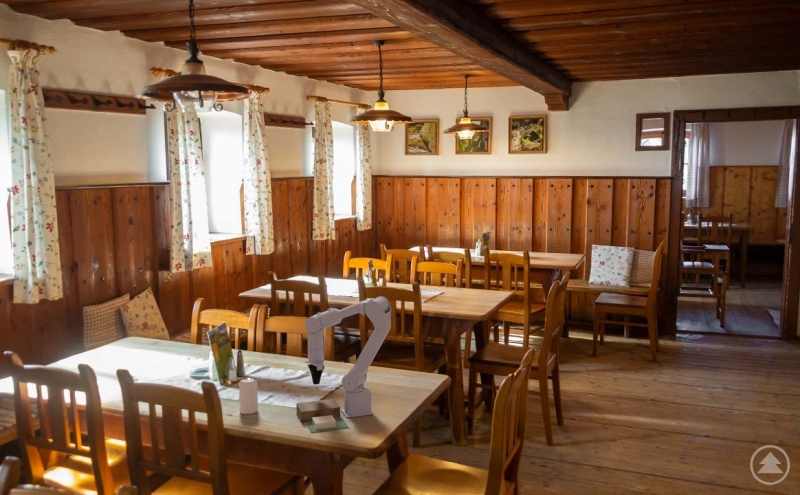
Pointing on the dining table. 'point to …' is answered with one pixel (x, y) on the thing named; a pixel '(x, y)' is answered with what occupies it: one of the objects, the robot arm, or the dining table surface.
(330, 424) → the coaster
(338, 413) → the riser
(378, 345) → the robot arm
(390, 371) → the dining table surface
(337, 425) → the mat
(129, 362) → the dining table surface
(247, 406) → the can
